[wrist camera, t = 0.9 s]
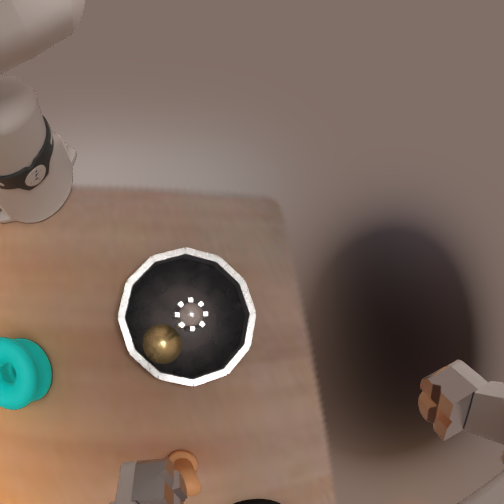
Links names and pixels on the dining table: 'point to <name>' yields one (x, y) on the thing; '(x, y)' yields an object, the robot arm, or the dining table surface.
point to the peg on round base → (187, 470)
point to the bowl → (187, 316)
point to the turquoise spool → (22, 373)
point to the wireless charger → (257, 501)
